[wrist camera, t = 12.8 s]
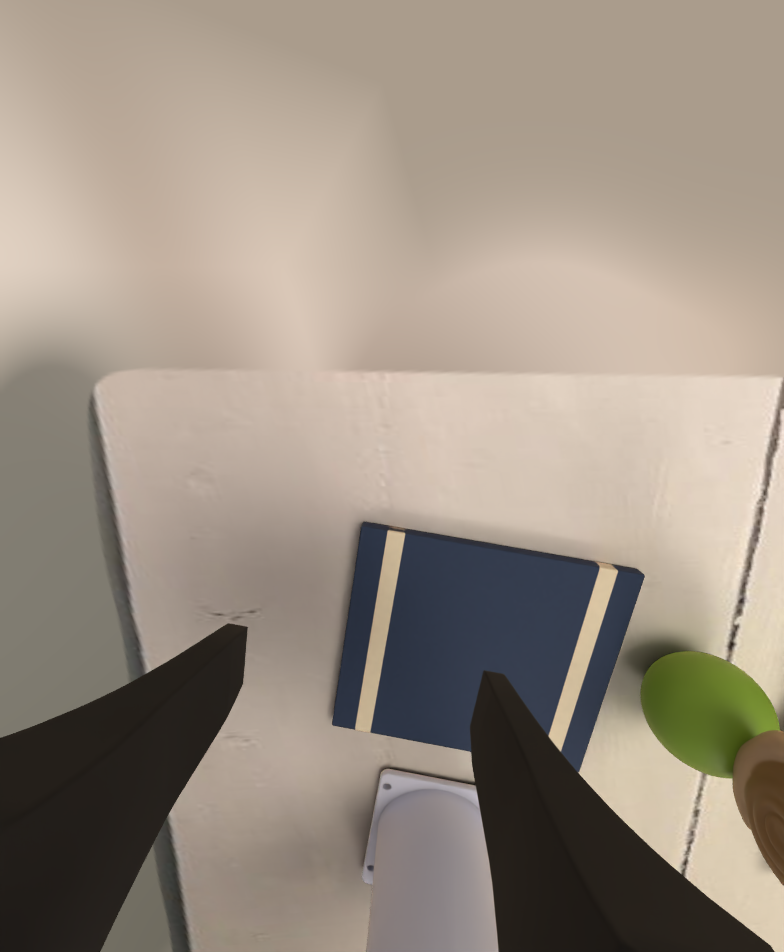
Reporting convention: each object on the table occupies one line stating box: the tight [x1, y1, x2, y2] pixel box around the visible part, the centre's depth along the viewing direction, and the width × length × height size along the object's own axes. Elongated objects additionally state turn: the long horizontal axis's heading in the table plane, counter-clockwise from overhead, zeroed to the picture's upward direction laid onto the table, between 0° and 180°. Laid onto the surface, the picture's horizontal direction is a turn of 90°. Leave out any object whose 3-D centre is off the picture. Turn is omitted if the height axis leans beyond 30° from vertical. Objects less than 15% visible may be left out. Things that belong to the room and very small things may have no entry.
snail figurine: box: [641, 651, 784, 885], centre depth 17 cm, size 5×6×12 cm
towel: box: [332, 522, 645, 772], centre depth 23 cm, size 13×15×1 cm
